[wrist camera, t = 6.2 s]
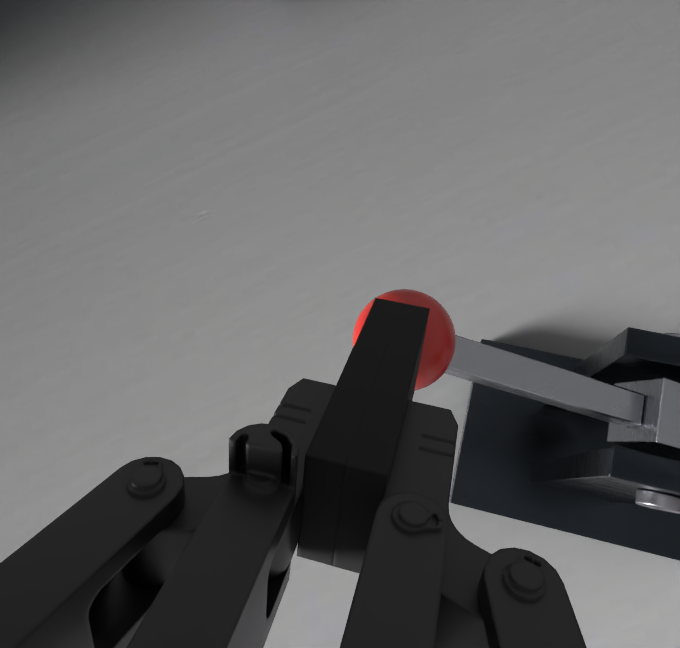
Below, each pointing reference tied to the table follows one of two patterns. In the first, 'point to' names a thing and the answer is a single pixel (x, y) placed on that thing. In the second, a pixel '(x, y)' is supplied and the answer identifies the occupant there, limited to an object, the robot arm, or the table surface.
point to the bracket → (573, 454)
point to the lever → (548, 382)
